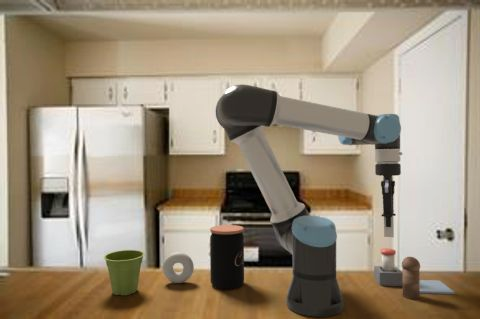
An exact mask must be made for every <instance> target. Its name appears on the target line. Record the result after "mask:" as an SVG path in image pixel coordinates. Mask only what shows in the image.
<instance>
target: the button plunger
mask: <svg viewBox="0 0 480 319" xmlns="http://www.w3.org/2000/svg"><path fill="white" fill-rule="evenodd" d="M380 254H381V266H382V271H384V272H395V267H396V265H395V264H396V263H395V258H396V257H395V256H396V250H395V249H394V248H381V249H380Z"/></svg>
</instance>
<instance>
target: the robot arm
mask: <svg viewBox="0 0 480 319" xmlns="http://www.w3.org/2000/svg"><path fill="white" fill-rule="evenodd" d="M215 118H216V120H217V122H218V124H219V125H220V127H222V128H223V129H224V131H225V134H226V135H227V137H228V139H229V141H230V142H231V143H234V144H236V145H237V146H238V148H239V150H240V152H241V153H242V154H241V155H242V157H243V159H244V160H245V163H246V164H247V166H248V168H249V170H250V172H251V175H252V176H253V178H254V180H255V182H256V184H257V186H258V188H259V190H260V192H261V195H262V197H263V198H264V201H265V203H266V205H267V206H268V208H269V211H270V212H271V216H270V224H271V225H272V227H273V230H274V234H275V237H276V241H277V242H278V243H279V245H280V246H281V247H282V248H283V249H284V250H286V251H287V252H289V254H290V255H292V277H291V280H290V283H289V286H288V289H287V292H286V300H285V301H286V304H285V305H286V307H287V308H288V309H289V310H290V311H292V312H294V313H296V314H298V315H302V316H307V317H314V318H315V317H316V318H326V317H333V316H335V315H336V316H337V315H338V314H340V313H342V311H343V310H344V298H343V294H342V292H341V288H340V285H339V283H338V279H337V239H338V234H337V230H336V228H337V227H336V224H335V223H334V222H333V220H331V219H329V218H326V217H321V216H320V215H319V216H318V215H310V213H309V211H308V209H307V207H306V205H305V204H304V203H302V202H300V201H298V200H297V199H296V197H295V194H294V192H293V190H292V188H291V186H290V184H289V182H288V180H287V177H286V175H285V174H284V172H283V170H282V168H281V165H280V163H279V161H278V160H277V157H276V155H275V153H274V151H273V150H272V147H271V145H270V144H269V141H268V139H267V137H266V135H265V133H264V129H265V127H267V128H271V127H272V126H274V125H278V126H283V127H289V128H295V129H299V130H305V131H311V132H316V133H322V134H326V135H333V136H337V137H338V138H337V139H338V141H339V143H340V144H341V145H343V146H360V145H361V146H364V145H365V146H366V145H368V146H369V145H372V146H373V145H374V162H375V163H376V164H375V166H374V167H375V170H374V174H375V175H376V176H379V177H380V176H383V178H382V179H383V180H381V181H380V186H381V195H382V208H383V210H382V211H383V212H382V214H381V217H383V236H384V238H385V237H386V238H394V237H395V236H394V234H395V232H394V226H395V225H394V216H395V217H396V213H394V212H395V210H394V196H395V187H396V180H393V178H394V177H393V176H400V175H401V174H402V172H401V163H400V162H401V156H402V155H403V152H402V151H401V131H402V125H401V123H400V121H401V119H400V116H399V115H398V114H396V113H382V114H376V115H375V114H371V113H365V112H361V111H360V112H359V111H356V110H351V109H346V108H341V107H335V106H331V105H327V104H326V105H325V104H322V103H321V104H320V103H317V102H311V101H307V100H300V99H296V98H292V97H287V96H281V95H280V94H279V92H278V91H276V90H271V89H266V88H264V87H258V86H254V85H249V84H243V83H242V84H235V85H233V86H230V87H229V88H227V89H226V90H225V91H224V92H223V94H222V95H221V97H219V99H218V101H217V103H216V105H215Z"/></svg>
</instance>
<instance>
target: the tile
mask: <svg viewBox="0 0 480 319" xmlns="http://www.w3.org/2000/svg"><path fill="white" fill-rule="evenodd" d="M419 281H420V294H438V295H455V291H454V290H452V289H451V288H450V287H449V286H447V285H446V284H445V283H444V282H442V281H441V280H431V279H430V280H429V279H419Z"/></svg>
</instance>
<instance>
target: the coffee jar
mask: <svg viewBox="0 0 480 319" xmlns="http://www.w3.org/2000/svg"><path fill="white" fill-rule="evenodd" d="M209 230H210V231H209V232H210V233H211V235H210V237H209V238H210V239H209V243H210V244H209V246H210V247H209V256H210V257H209V258H210V260H209V261H210V269H209V270H210V271H209V272H210V283H211V286H212V287H213V286H214V287H213V288H215V287H216V288H215V289H217V288H218V290H221V289H222V291H231V289H232V290H236V288H237V289H238V288H239V289H240V288H241V287H242V286H243V284H244V282H245V238H244V237H245V236H244V234H243V232H244V226H241V225H235V224H223V225H222V224H220V225H214V226H212V227H209Z"/></svg>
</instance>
